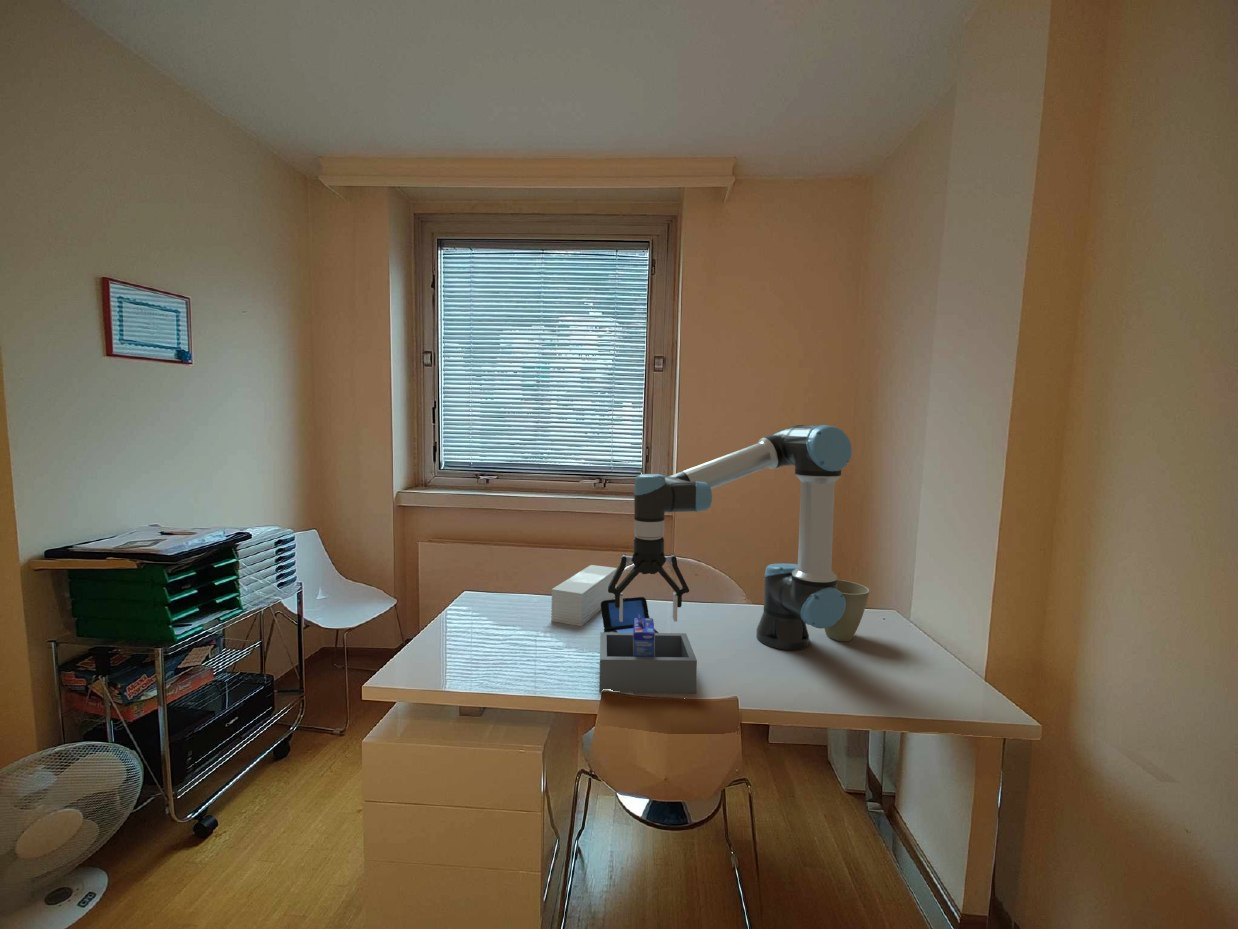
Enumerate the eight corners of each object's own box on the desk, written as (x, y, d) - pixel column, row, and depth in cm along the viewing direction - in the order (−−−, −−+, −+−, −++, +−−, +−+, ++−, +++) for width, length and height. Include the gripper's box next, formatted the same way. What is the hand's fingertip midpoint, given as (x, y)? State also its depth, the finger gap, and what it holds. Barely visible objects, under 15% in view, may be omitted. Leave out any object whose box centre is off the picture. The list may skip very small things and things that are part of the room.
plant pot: (860, 651, 147) (863, 597, 146) (807, 637, 156) (810, 586, 155) (870, 635, 159) (873, 585, 158) (821, 623, 168) (824, 576, 167)
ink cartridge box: (632, 662, 134) (633, 608, 133) (653, 663, 134) (654, 609, 133) (632, 680, 124) (633, 622, 123) (654, 681, 124) (656, 623, 123)
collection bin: (685, 662, 137) (686, 633, 137) (695, 693, 121) (696, 660, 121) (599, 661, 137) (600, 632, 136) (599, 692, 121) (600, 659, 120)
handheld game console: (614, 647, 146) (614, 615, 146) (598, 629, 159) (599, 600, 158) (663, 640, 152) (663, 609, 151) (644, 623, 165) (645, 595, 164)
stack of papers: (581, 627, 161) (582, 593, 160) (551, 621, 164) (551, 589, 163) (616, 596, 191) (617, 568, 190) (590, 592, 194) (590, 564, 193)
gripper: (696, 533, 131) (694, 613, 132) (598, 533, 130) (598, 614, 131) (701, 539, 123) (700, 625, 125) (598, 539, 122) (598, 625, 124)
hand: (647, 619), depth 128 cm, fingers open, 13 cm apart
